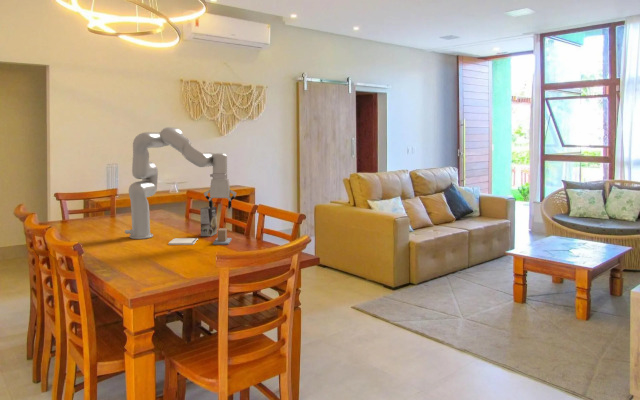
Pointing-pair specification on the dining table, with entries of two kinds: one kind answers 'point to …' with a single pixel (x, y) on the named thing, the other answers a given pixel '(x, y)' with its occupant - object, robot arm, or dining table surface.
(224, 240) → the stub
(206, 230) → the coffee box
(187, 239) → the board
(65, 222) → the dining table surface
